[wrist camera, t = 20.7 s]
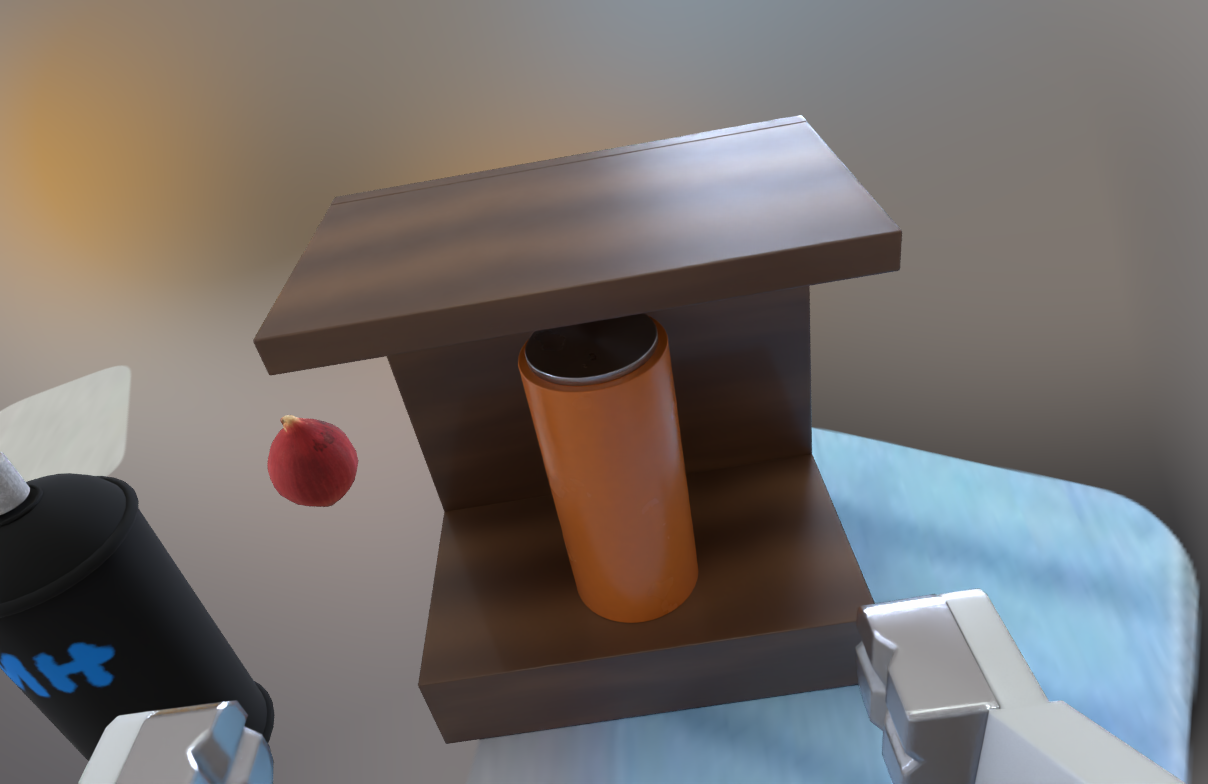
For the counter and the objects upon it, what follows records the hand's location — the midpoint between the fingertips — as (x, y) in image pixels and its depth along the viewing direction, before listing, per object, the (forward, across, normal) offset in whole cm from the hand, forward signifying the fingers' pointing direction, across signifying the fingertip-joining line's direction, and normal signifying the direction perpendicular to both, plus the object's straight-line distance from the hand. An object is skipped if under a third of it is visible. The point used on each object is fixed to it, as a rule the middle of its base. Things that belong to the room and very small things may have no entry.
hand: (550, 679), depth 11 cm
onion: (+38, +22, +28) cm, 52 cm away
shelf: (+24, 0, +28) cm, 37 cm away
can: (+23, 0, +23) cm, 32 cm away
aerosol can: (+20, +25, +28) cm, 42 cm away
